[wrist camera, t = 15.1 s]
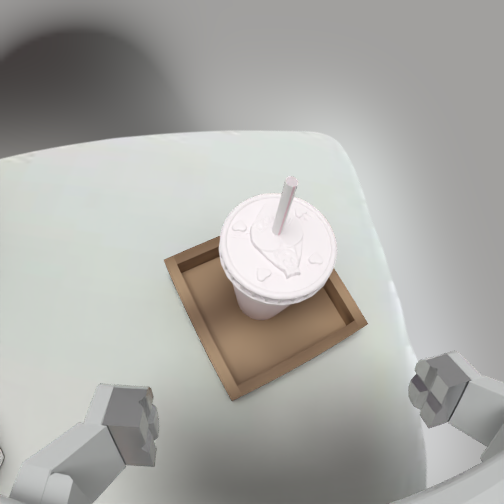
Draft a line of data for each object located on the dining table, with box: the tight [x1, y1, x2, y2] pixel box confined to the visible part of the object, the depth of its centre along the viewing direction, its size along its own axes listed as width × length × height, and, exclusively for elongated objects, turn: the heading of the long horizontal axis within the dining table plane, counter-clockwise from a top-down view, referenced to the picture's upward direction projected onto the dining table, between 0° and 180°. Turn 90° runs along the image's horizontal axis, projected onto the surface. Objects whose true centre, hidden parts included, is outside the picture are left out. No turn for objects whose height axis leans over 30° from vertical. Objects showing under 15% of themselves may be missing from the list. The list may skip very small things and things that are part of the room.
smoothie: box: [219, 176, 337, 320], centre depth 19 cm, size 6×6×14 cm
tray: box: [164, 236, 368, 401], centre depth 25 cm, size 12×12×2 cm
